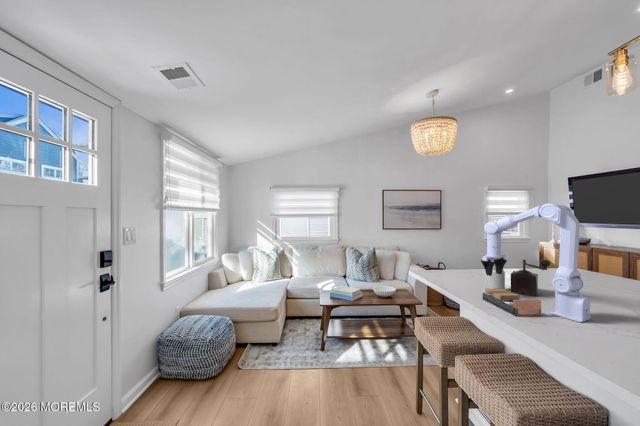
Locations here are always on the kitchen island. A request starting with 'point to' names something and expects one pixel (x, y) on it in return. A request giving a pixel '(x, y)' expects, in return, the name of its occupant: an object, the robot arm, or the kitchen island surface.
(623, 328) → the kitchen island surface
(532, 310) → the roller bed
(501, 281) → the can
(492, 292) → the tan flat block
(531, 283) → the manual coffee grinder
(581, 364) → the kitchen island surface
